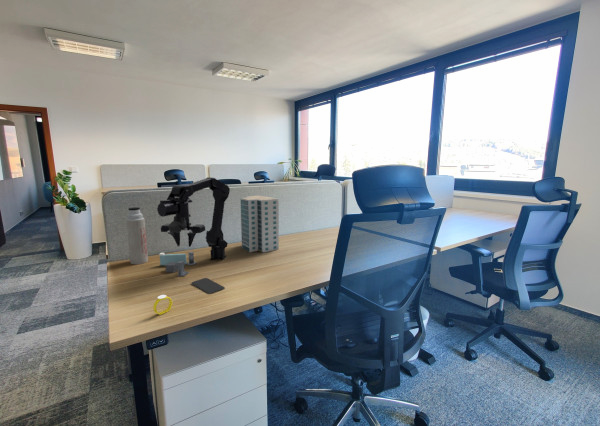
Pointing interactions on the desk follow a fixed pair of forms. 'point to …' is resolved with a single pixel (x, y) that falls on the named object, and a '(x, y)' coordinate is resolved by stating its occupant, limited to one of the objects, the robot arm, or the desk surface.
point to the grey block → (181, 269)
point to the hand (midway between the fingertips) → (184, 246)
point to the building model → (259, 223)
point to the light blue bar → (172, 258)
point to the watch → (162, 297)
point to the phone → (208, 285)
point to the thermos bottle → (136, 236)
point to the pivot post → (191, 259)
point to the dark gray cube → (171, 267)
